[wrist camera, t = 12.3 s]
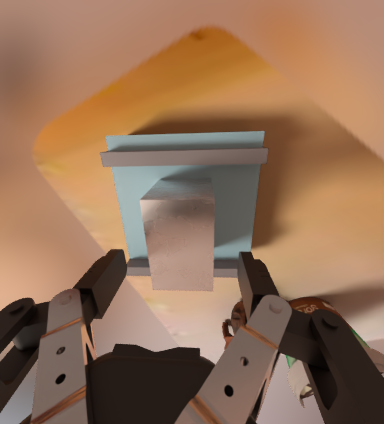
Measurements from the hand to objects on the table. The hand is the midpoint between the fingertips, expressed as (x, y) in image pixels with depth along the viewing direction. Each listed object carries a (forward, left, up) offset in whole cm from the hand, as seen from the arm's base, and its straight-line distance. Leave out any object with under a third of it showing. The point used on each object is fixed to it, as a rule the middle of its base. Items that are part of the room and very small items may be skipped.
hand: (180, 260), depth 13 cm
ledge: (0, 0, -12) cm, 12 cm away
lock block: (0, 0, -7) cm, 7 cm away
